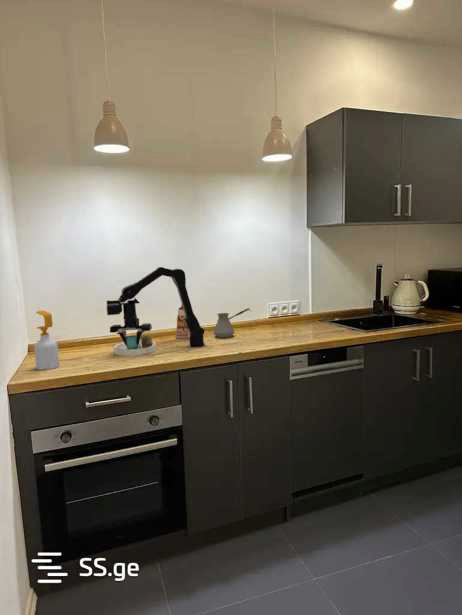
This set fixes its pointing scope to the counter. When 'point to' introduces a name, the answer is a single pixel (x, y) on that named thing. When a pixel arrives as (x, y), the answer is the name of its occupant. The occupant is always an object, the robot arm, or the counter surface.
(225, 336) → the coffee pot
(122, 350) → the dish
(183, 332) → the red figurine
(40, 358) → the soap bottle
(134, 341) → the teal bead
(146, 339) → the walnut bead
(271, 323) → the counter surface
